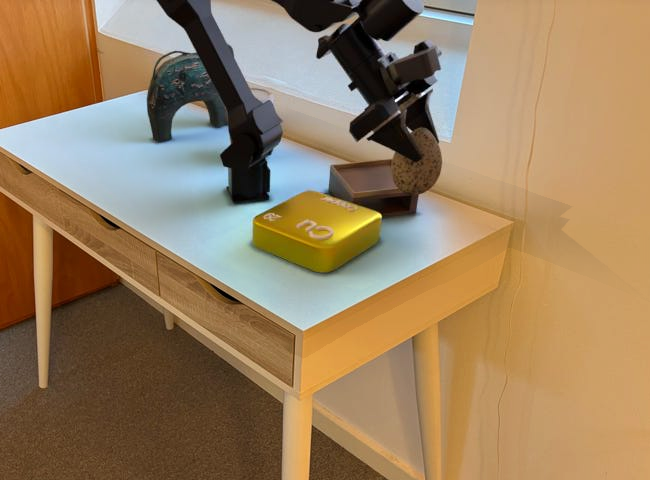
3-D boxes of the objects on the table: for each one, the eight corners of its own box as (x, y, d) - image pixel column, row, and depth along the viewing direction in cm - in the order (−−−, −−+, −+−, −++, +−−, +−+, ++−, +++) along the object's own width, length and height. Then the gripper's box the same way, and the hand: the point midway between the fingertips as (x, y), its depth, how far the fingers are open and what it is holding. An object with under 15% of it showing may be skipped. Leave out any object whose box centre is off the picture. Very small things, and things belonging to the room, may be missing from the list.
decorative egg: (444, 190, 109) (457, 125, 103) (423, 207, 105) (435, 140, 99) (401, 179, 113) (410, 115, 107) (379, 195, 108) (387, 130, 102)
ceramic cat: (224, 117, 159) (222, 19, 147) (241, 125, 154) (240, 25, 142) (145, 137, 151) (137, 36, 139) (161, 146, 147) (153, 42, 135)
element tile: (384, 239, 111) (388, 210, 108) (325, 277, 103) (327, 247, 100) (307, 212, 120) (308, 184, 117) (246, 244, 112) (246, 216, 109)
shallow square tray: (351, 221, 116) (353, 193, 114) (328, 191, 126) (330, 164, 123) (415, 213, 118) (420, 185, 115) (388, 184, 127) (391, 158, 124)
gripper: (381, 39, 90) (452, 141, 92) (434, 9, 102) (496, 100, 104) (320, 94, 99) (385, 187, 100) (375, 60, 111) (433, 143, 112)
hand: (427, 152), depth 104 cm, fingers closed on decorative egg, 6 cm apart
